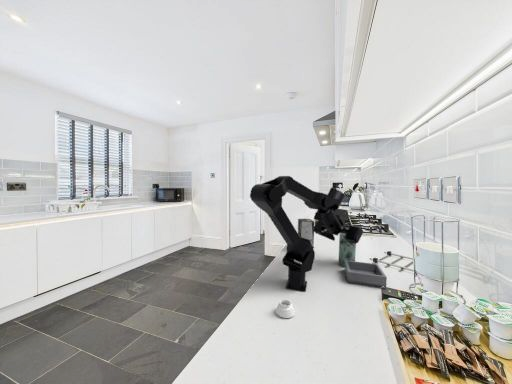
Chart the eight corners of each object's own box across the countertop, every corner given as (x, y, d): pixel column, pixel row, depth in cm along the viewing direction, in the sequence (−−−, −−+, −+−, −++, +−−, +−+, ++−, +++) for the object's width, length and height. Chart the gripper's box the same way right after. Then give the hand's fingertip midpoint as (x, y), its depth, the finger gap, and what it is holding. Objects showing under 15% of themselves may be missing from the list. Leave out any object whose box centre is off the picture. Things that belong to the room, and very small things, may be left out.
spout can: (355, 269, 85) (357, 231, 84) (338, 267, 87) (340, 229, 86) (353, 263, 91) (355, 227, 90) (337, 261, 93) (339, 226, 92)
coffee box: (313, 255, 100) (314, 221, 99) (300, 255, 100) (301, 221, 99) (309, 249, 109) (310, 218, 108) (296, 248, 109) (297, 218, 109)
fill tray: (386, 289, 69) (386, 277, 69) (347, 283, 73) (348, 271, 73) (377, 274, 80) (377, 264, 80) (344, 270, 84) (344, 260, 84)
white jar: (275, 307, 58) (276, 319, 53) (275, 297, 58) (276, 307, 53) (293, 308, 58) (295, 320, 53) (293, 297, 58) (296, 308, 53)
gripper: (361, 205, 75) (375, 231, 82) (318, 200, 90) (332, 223, 97) (349, 229, 71) (364, 255, 78) (305, 220, 86) (321, 243, 93)
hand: (344, 242), depth 87 cm, fingers open, 9 cm apart
